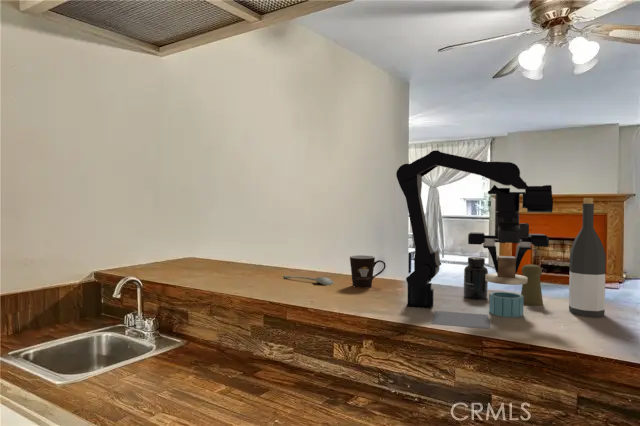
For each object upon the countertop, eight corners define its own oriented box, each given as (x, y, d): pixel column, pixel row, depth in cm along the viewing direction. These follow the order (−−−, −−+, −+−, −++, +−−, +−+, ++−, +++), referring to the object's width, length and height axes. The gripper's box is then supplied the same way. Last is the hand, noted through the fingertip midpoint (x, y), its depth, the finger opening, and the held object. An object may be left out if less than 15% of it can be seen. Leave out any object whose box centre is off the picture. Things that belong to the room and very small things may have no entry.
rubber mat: (431, 325, 103) (431, 323, 103) (434, 312, 116) (434, 310, 116) (490, 330, 99) (490, 328, 99) (487, 316, 112) (487, 314, 112)
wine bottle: (561, 309, 119) (563, 198, 118) (590, 309, 119) (592, 198, 118) (581, 317, 111) (583, 197, 110) (612, 317, 111) (614, 197, 110)
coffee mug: (346, 287, 149) (346, 257, 148) (354, 282, 157) (354, 254, 156) (379, 290, 144) (380, 259, 144) (386, 285, 152) (386, 256, 152)
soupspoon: (327, 289, 151) (338, 287, 156) (328, 279, 151) (338, 278, 156) (278, 280, 163) (289, 278, 169) (279, 271, 163) (290, 270, 169)
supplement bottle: (463, 298, 132) (463, 258, 131) (464, 294, 138) (464, 256, 138) (487, 300, 129) (488, 259, 129) (487, 295, 136) (488, 257, 136)
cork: (545, 306, 123) (546, 266, 122) (522, 305, 124) (523, 266, 124) (539, 301, 129) (540, 263, 128) (517, 300, 130) (518, 263, 130)
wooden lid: (486, 283, 110) (486, 258, 110) (484, 276, 120) (484, 253, 119) (530, 285, 107) (530, 260, 107) (524, 278, 117) (525, 255, 116)
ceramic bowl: (490, 316, 111) (490, 297, 111) (488, 309, 119) (488, 291, 119) (524, 319, 109) (525, 299, 108) (520, 311, 116) (521, 293, 116)
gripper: (468, 212, 108) (467, 275, 109) (553, 213, 102) (552, 280, 103) (468, 211, 119) (467, 269, 119) (545, 212, 113) (544, 273, 113)
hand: (506, 272), depth 113 cm, fingers closed on wooden lid, 4 cm apart
